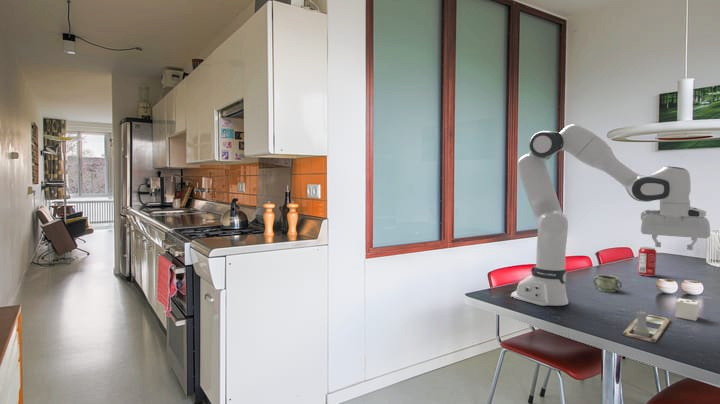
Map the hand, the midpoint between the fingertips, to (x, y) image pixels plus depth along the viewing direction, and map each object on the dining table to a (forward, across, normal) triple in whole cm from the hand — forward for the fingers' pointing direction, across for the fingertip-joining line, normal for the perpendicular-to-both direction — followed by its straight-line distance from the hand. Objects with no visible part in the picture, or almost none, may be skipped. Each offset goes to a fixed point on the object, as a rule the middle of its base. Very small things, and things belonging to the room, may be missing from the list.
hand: (673, 248), depth 151 cm
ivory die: (+26, +4, +6) cm, 27 cm away
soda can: (+27, -23, +76) cm, 84 cm away
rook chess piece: (+26, -4, -28) cm, 38 cm away
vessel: (+26, -29, +28) cm, 48 cm away
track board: (+26, -4, -18) cm, 32 cm away
